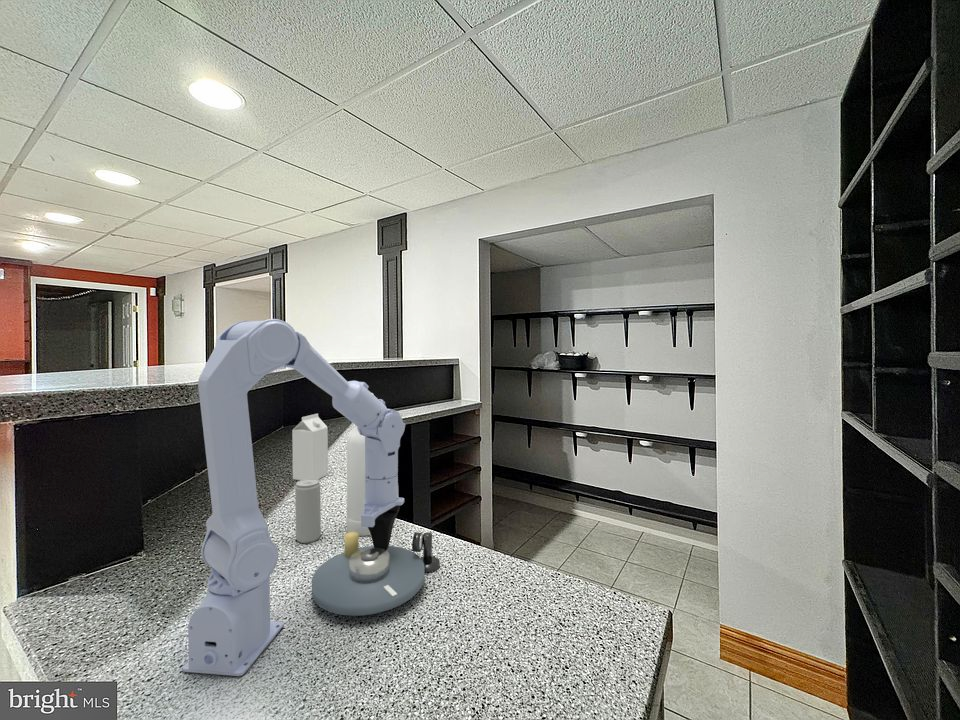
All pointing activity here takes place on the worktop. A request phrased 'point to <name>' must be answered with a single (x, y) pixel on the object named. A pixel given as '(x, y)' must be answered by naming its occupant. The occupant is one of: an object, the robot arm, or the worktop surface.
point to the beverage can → (308, 510)
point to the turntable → (364, 599)
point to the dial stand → (425, 550)
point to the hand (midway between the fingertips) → (381, 549)
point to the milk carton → (310, 448)
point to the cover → (369, 565)
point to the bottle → (355, 482)
